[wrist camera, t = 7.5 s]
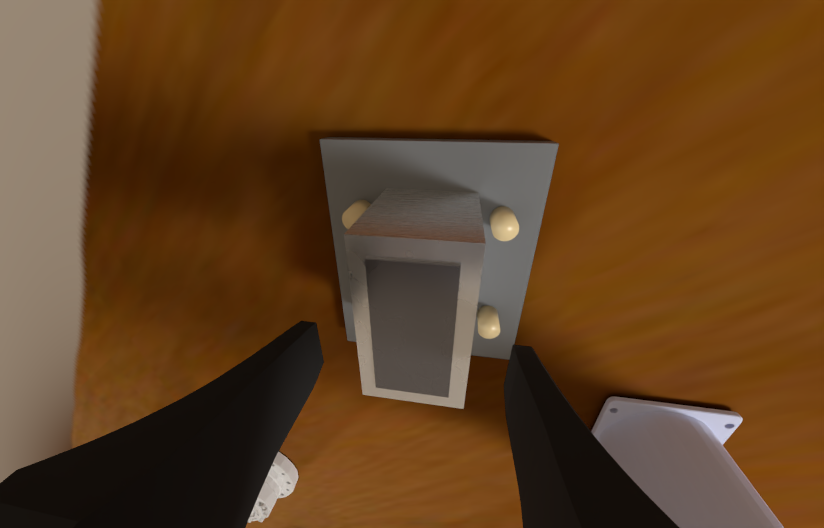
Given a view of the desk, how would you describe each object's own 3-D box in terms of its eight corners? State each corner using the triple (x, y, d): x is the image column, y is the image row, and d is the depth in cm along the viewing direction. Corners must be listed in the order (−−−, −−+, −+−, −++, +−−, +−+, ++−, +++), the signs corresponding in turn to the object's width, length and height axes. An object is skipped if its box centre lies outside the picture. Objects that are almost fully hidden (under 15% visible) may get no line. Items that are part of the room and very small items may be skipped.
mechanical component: (206, 426, 32) (229, 474, 37) (171, 470, 28) (201, 518, 33) (293, 444, 31) (304, 491, 36) (269, 492, 27) (285, 538, 32)
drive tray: (508, 348, 20) (514, 378, 18) (352, 331, 22) (339, 356, 19) (553, 140, 14) (569, 148, 12) (327, 137, 15) (305, 142, 13)
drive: (464, 321, 18) (463, 412, 13) (391, 313, 19) (361, 397, 14) (478, 192, 14) (486, 245, 9) (386, 188, 15) (342, 235, 10)
